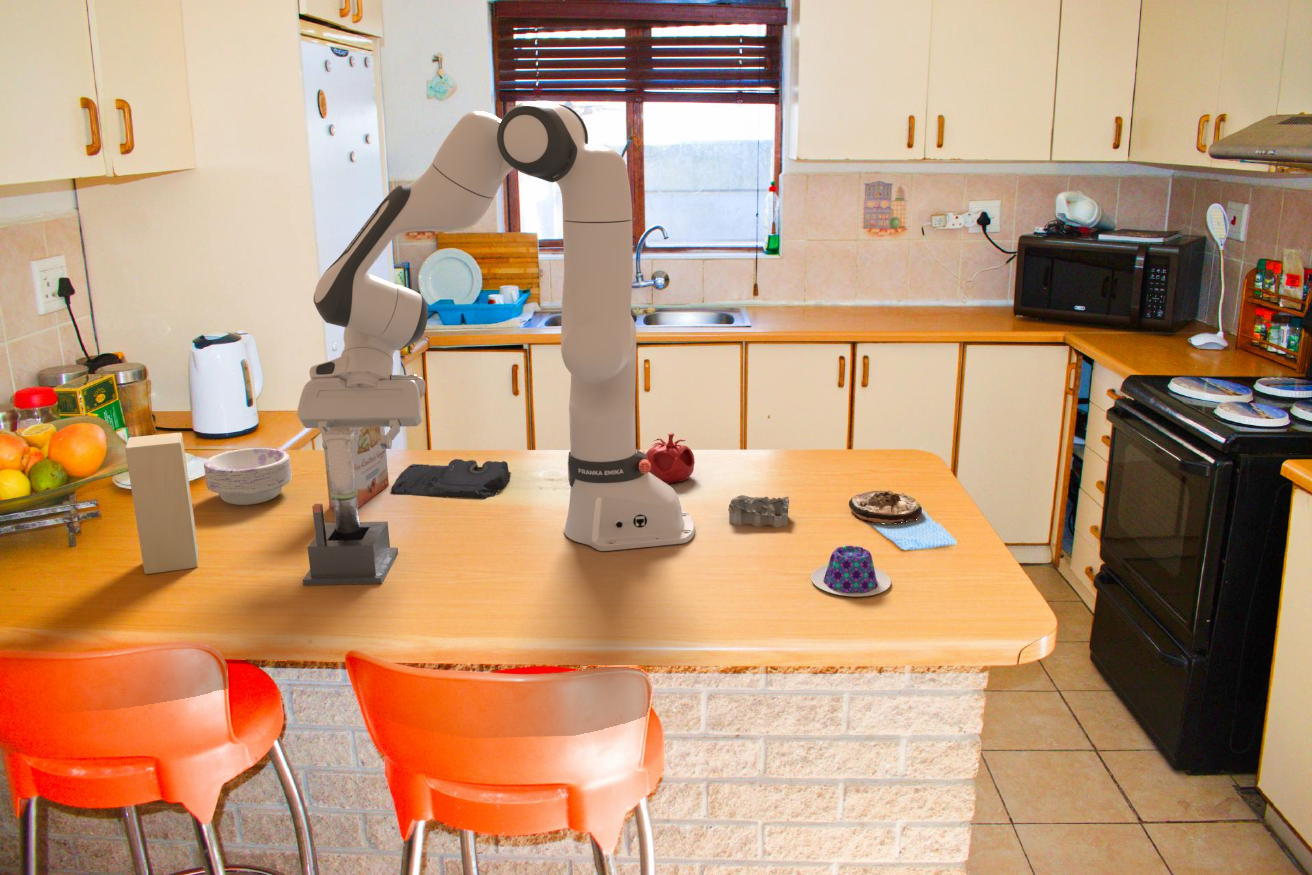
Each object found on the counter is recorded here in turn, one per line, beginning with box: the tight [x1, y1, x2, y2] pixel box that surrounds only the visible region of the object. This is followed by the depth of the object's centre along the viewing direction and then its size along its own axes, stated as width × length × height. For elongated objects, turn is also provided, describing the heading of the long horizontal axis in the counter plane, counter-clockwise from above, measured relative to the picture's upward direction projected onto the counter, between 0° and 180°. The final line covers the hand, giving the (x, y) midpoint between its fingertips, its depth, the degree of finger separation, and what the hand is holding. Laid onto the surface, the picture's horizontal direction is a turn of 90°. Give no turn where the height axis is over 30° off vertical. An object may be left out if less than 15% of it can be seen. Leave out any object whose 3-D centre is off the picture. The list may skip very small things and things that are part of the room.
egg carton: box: [727, 494, 790, 528], centre depth 184 cm, size 11×8×4 cm
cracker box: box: [323, 427, 390, 508], centre depth 196 cm, size 14×6×21 cm, turn 168°
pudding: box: [810, 545, 892, 597], centre depth 159 cm, size 12×12×5 cm
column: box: [321, 431, 361, 533], centre depth 162 cm, size 4×4×16 cm
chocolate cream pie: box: [848, 490, 923, 524], centre depth 187 cm, size 15×15×4 cm
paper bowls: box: [203, 447, 293, 506], centre depth 199 cm, size 15×15×8 cm
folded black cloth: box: [390, 458, 512, 500], centre depth 205 cm, size 15×22×5 cm
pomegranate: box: [645, 432, 696, 484], centre depth 206 cm, size 10×10×9 cm
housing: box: [302, 503, 399, 586], centre depth 165 cm, size 12×12×12 cm
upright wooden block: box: [125, 432, 200, 575], centre depth 167 cm, size 8×7×21 cm
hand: (356, 447), depth 172 cm, fingers open, 8 cm apart
